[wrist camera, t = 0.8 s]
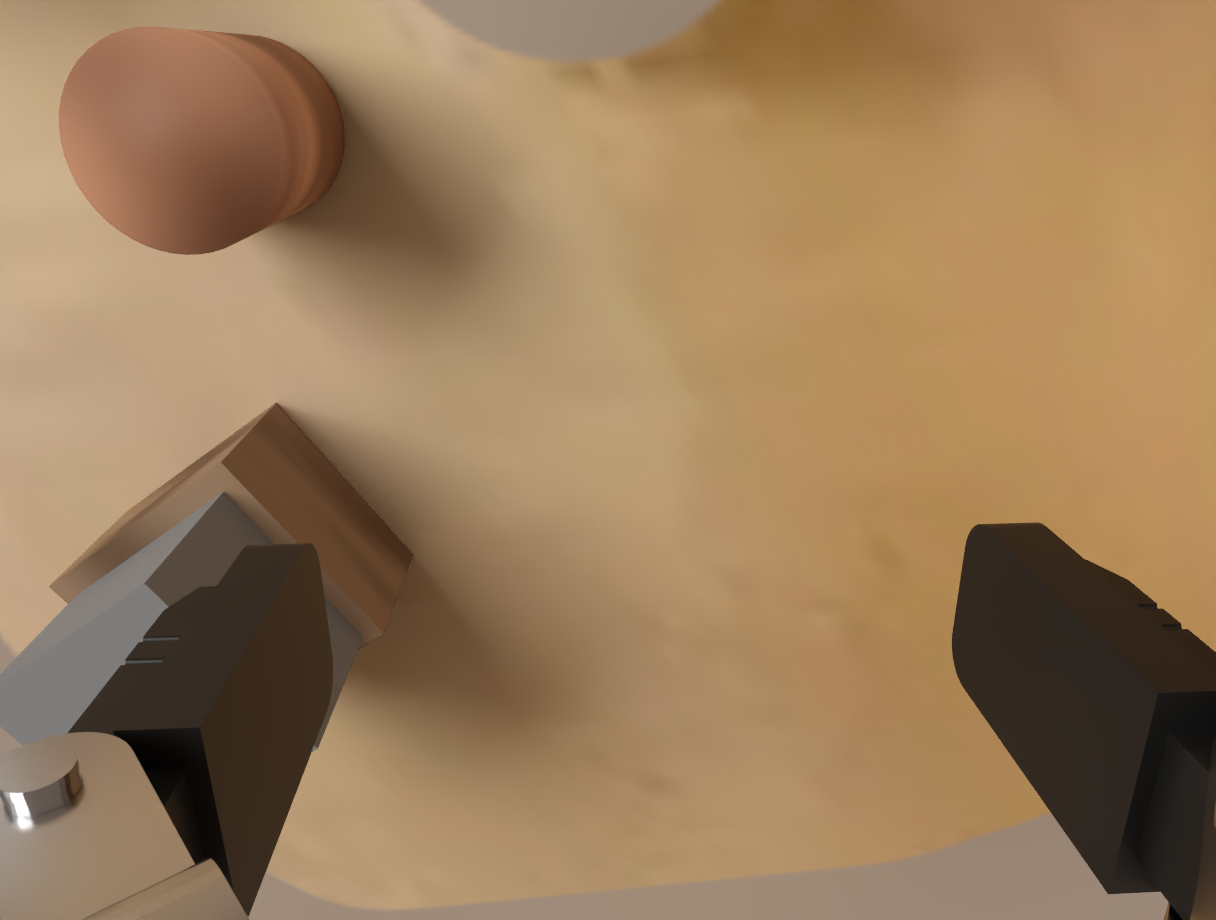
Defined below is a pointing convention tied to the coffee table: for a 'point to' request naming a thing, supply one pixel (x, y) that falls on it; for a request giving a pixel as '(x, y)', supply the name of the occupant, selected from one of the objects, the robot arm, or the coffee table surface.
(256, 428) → the tower base
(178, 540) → the tower top
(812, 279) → the coffee table surface
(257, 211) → the brown rounded knob
